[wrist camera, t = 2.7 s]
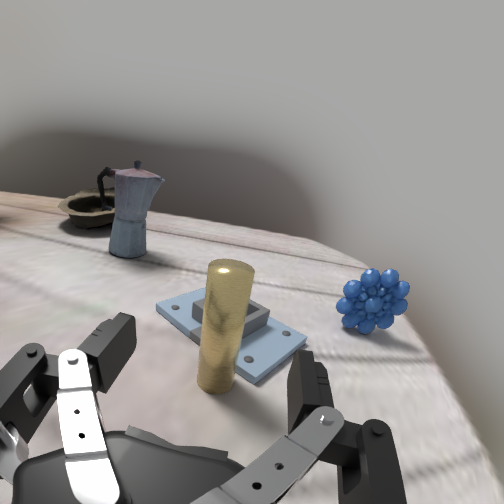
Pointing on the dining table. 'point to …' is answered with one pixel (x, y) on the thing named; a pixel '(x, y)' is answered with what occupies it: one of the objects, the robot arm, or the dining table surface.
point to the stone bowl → (89, 208)
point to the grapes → (373, 300)
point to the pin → (223, 323)
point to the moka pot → (129, 208)
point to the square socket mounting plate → (253, 339)
